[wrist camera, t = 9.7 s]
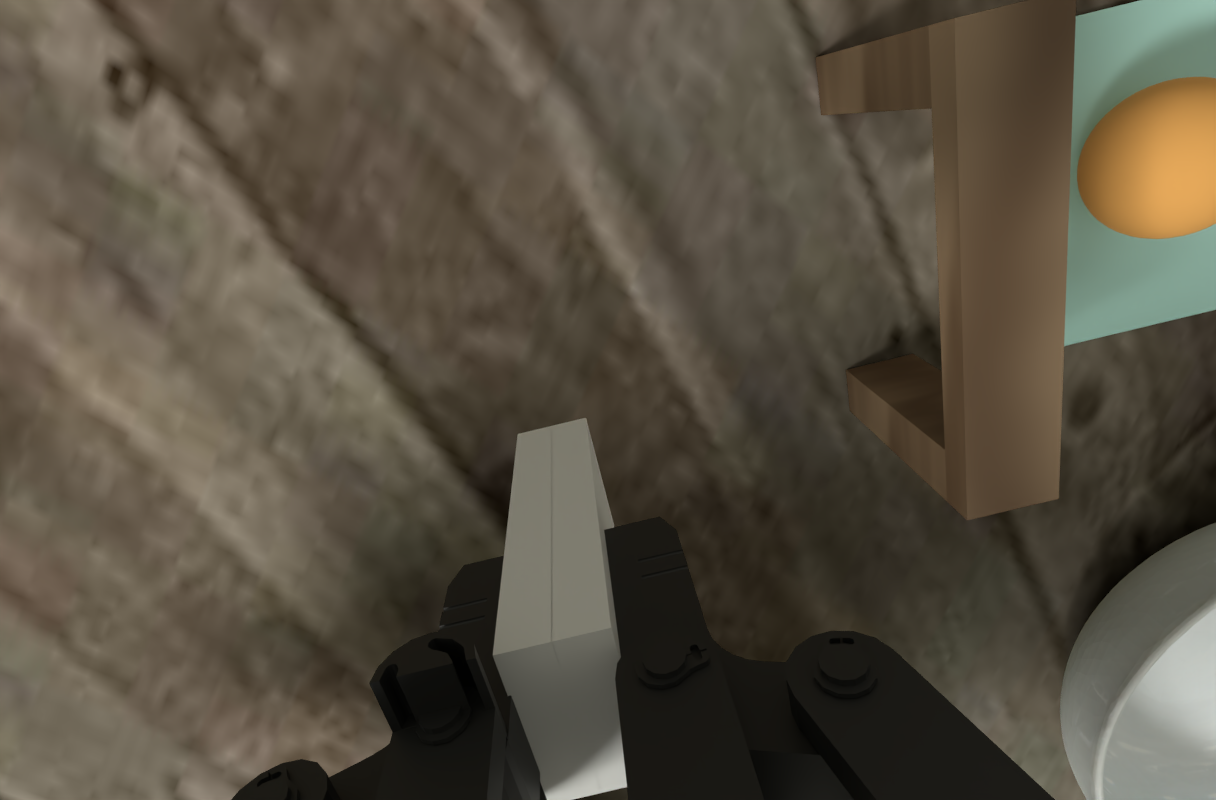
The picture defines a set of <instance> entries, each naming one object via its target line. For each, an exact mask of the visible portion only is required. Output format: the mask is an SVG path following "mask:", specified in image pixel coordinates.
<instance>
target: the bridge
mask: <svg viewBox="0 0 1216 800" xmlns="http://www.w3.org/2000/svg"><path fill="white" fill-rule="evenodd" d="M1075 24H1076V0H1026V1H1022V2H1018V3H1014V4H1010V5H1006V6H1001V7H997V8H993V9H989V10H985V11H981V12H977V13H973V14H969V15H965V16H961V17H957V18H953V19H949V20H946V21H942V22H939V23H935V24H932V25H928V26H925V27H921V28H918V29H914V30H911V31H907V32H904V33H900V34H897V35H893V36H890V37H886V38H883V39H879V40H875V41H872V42H868V43H865V44H861V45H858V46H854V47H851V48H847V49H844V50H840V51H837V52H833V53H830V54H826V55H823V56H819V57H816V67H817V77H818V87H819V98H820V108H821V115H832V114H848V113H864V112H880V111H895V110H911V109H927V108H932V128H933V154H934V179H935V205H936V231H937V257H938V283H939V309H940V335H941V361H942V371H940V370H939V369H937V368H936V367H934V366H932V365H931V364H929V363H927V362H926V361H924V360H922V359H921V358H919V357H918V356H916V355H914V354H910V355H906V356H902V357H897V358H893V359H889V360H885V361H881V362H877V363H872V364H868V365H864V366H860V367H856V368H852V369H847V370H846V376H847V386H848V397H849V407H850V411H851V412H852V413H853V414H854V415H855V416H856V417H857V418H858V419H859V420H860V421H861V422H862V423H863V424H864V425H866V426H867V427H868V428H869V429H870V430H871V431H872V432H873V433H874V434H875V435H876V436H877V437H878V438H879V439H881V440H882V441H883V442H884V443H885V444H886V445H887V446H888V447H889V448H890V449H891V450H892V451H893V452H894V453H896V454H897V455H898V456H899V457H900V458H901V459H902V460H903V461H904V462H905V463H906V464H907V465H908V466H909V467H910V468H912V469H913V470H914V471H915V472H916V473H917V474H918V475H919V476H920V477H921V478H922V479H923V480H924V481H925V482H927V483H928V484H929V485H930V486H931V487H932V488H933V489H934V490H935V491H936V492H937V493H938V494H939V495H940V496H942V497H943V498H944V499H945V500H946V501H947V502H948V503H949V504H950V505H951V506H952V507H953V508H954V509H955V510H957V511H958V512H959V513H960V514H961V515H962V516H963V517H964V518H965V519H966V520H971V519H976V518H980V517H984V516H988V515H992V514H997V513H1001V512H1005V511H1009V510H1014V509H1018V508H1022V507H1026V506H1030V505H1035V504H1039V503H1043V502H1047V501H1052V500H1056V499H1059V478H1060V450H1061V421H1062V393H1063V365H1064V336H1065V308H1066V280H1067V251H1068V223H1069V195H1070V166H1071V138H1072V109H1073V81H1074V53H1075Z"/></svg>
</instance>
